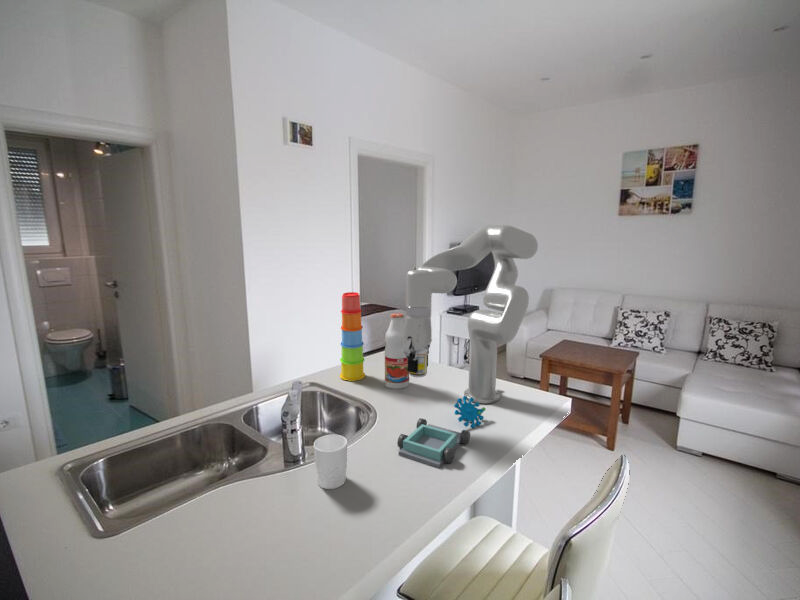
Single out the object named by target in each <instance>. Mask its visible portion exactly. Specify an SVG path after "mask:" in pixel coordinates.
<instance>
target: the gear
mask: <svg viewBox="0 0 800 600" xmlns="http://www.w3.org/2000/svg"><path fill="white" fill-rule="evenodd" d="M467 400H468V398H467V397H466V396H464V395H463V397H462V398H461V397H460V398H458V399H456V401H457V402H456V403H455V404H454V408H456V409H455V410H454V415H456V416H458V415H459V417H458V418H457V420H458V422H459V423H461V422H462V421H464V420H465V422H464V423H463V425H464V427H466V428H467V427H468V426H470V428H472V429H475V428H476V426H477V427H478V426H481V425H482V422H481V421H483V420H484V418H485V416H484V415H482V414H483V413H484V412H485V411H486V408H485V407H482V408H479V407H480V406H481V405H480V404H481V403H478V402H473V401H474V399H473V398H472V397H471V398H470V399H469V400H468V402H467ZM475 421H476V422H475ZM470 422H471V424H470ZM469 424H470V425H469Z"/></svg>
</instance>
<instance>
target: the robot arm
mask: <svg viewBox="0 0 800 600" xmlns="http://www.w3.org/2000/svg"><path fill="white" fill-rule="evenodd" d="M538 245H539V244H538V240H537V238H536V237H535V236H534V235H533V234H532V233H530V232H527V231H524V230H522V229H520V228H517V227H515V226H511V225H509V224H488V225H484V226H481V227H479V228H478V229H477V230H476V231H474V232H473V233H472V234H470V236H468V237H467V238H466V239H464V241H462V242H461V243H459V244H458V245H457V246H453V247H451V248H449V249H447V250H444V251H442V252H440V253H437V254H436V255H432V257H430V258H429V259H427V260H426V261H425V262H424V263H422V264H421V265H420V266H419V267H418V268H417V269H411V270H409V271H407V273H406V281H405V282H406V283H405V284H406V286H405V289H406V290H405V291H406V292H405V294H406V297H405V298H406V299H405V303H406V304H405V305H406V306H405V310H406V311H405V318H404V319H405V320H404V333H403V348H404V353H405V354H406V356H407V359H408V371H409V372H413V373H417V372H418V360H417V354H418V350H420V349H422V348H424V347H425V348H426V349H427V368H428V367H429V354H430V347H431V344H432V341H433V339H432V320H431V319H432V318H431V317H432V294H448V293H450V292H452V291H453V290H454V289H455V288H456V286H457V284H458V283H457V282H458V279H457V276H456V274H455V273H454V272H457V271H462V270H467V269H471V268H473V267H476V266H477V265H478V264H479V263H480V262H481V261H482V260H483V259H485V258H486V257H487V256H488V255H489V254H490V253H491V254H492V257H493V261H494V269H493V272H492V274H491V275H492V276H491V277H490V279H489V282H488V284H487V287H486V288H485V291H484V295H483V297H482V302H483V305H484V306H485V307H486V308H488V309H492V310H494V311H491V310H486V309H476V310H474V311H473V312H471V313H470V314H469V316H468V319H467V331H468V339H469V358H468V359H469V362H468V364H469V365H468V388H466V389H465V390H464V391H463V397H464V396H466V397H467V398H468V399H467V400H468V401H469V399H470V398H471V397H472V398H473V399H474V401H473V402H472V403H476V402H478V403H479V404H486V405H487V404H493V403H496V402H498V401H499V400H500V393H499V392H498V391H497V390H496V387H497V385H496V384H497V365H498V364H497V363H498V361H497V360H498V359H497V358H498V347H497V343H496V342H498V343H502V344H509V343H510V342H512V341H513V340H514V339H515V337H516V336H517V334H518V331H519V329H520V327H521V324H522V322H523V320H524V317H525V315H526V312H527V309H528V306H529V304H530V303H529V302H530V300H529V299H530V297H529V296H530V295H529V293H528V290H526V288H525V287H523V286H520V285H516V282H517V279H518V277H519V276H518V275H519V271H518V268H517V265H516V263H515V260H514V259H520V260H521V259H522V260H528V259H532V258H533V257H534V256H535V255H536V254H537V251H538V247H539V246H538ZM496 311H500V312H502V313H500V312H496ZM412 347H414V349H412ZM411 351H413V352H414V355H413V353H411Z"/></svg>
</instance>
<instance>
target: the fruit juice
mask: <svg viewBox="0 0 800 600" xmlns="http://www.w3.org/2000/svg"><path fill="white" fill-rule="evenodd" d="M404 315H405V314H404V313H401V312H393V313H390V315H389V316H390V322H389V325H388V328H387V331H386V332H385V335H384V340H385V343H386V346H385V348H384V384H385V386H386V387H387V388H388V389H392V390H393V389H395V390H400V389H405V388H407V387H408V386H409V385H410V374H409V371H408V359H407V356H406V354H405V353H404V348H403V333H404V324H405V321H404V317H405V316H404Z"/></svg>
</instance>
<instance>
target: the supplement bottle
mask: <svg viewBox="0 0 800 600" xmlns="http://www.w3.org/2000/svg"><path fill="white" fill-rule="evenodd" d="M412 349H414V347H412ZM411 353H413V355H414V352H413V351H411ZM417 360H418V372H417V373H413V372H409V376H411V377H413V378H423V377H425V376H427V374H428V367H427V349H426V348H425V347H424V348H422V349H420V350H418V354H417Z"/></svg>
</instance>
